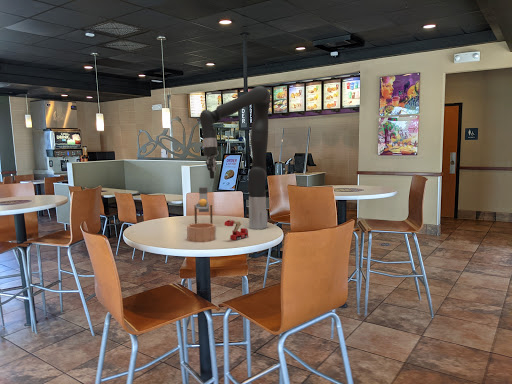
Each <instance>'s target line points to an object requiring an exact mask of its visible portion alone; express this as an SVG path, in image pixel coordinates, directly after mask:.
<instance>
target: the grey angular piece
mask: <svg viewBox="0 0 512 384" xmlns="http://www.w3.org/2000/svg"><path fill="white" fill-rule="evenodd" d="M198 188H199V189H198V193H199V194H198V195H199V198H198V199H199V201H200V200H201V199H205V200H206V201H207V205H206V206H204V207H202V206H200V205H199V201H198V203H195V204H194V205H195V208H197V210H198V212H199V213H210V203H209V201H208V187H207V186H199V187H198Z"/></svg>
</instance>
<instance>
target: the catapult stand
mask: <svg viewBox="0 0 512 384" xmlns="http://www.w3.org/2000/svg"><path fill="white" fill-rule="evenodd" d="M193 208H194V224H196V223H198V215H197V214H198V213H197V212H198V211H197V210H198V209H197V208H195V204H194V207H193ZM209 215H210V216H209V217H210V219H209V220H210V222H209V223H210V224H214V223H213V204H209Z"/></svg>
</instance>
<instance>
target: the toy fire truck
mask: <svg viewBox="0 0 512 384" xmlns="http://www.w3.org/2000/svg"><path fill="white" fill-rule="evenodd" d="M241 225H242V223H241V222H240V221H236V220H231V219H227V220H225V221H224V226H226V227H233V226H234V229H233V230H232V234H230V235H229V237H230V238H229V239H230V240H233V241H238V240H241V239H244V238H245V239H247V238H249V230H248V228H245V227H241ZM239 229H240V231H239Z"/></svg>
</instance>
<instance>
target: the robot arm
mask: <svg viewBox="0 0 512 384" xmlns="http://www.w3.org/2000/svg"><path fill="white" fill-rule="evenodd" d="M270 104H271V92H270V91H269V90H268V88H266V87H265V86H262V85H258V86H255V87H253V88H252V89H250V90H249V91H247V92H246V93H244V94H242V95H241V96H238V97H236V98H234V99H232V100H230V101H226V102H225V103H223V104H220V105H218V106H216V108H215V109H214V110H212V111H211V110H209V109H203V110H201V112H200V115H199V121H200V126H201V130H202V137H203V139H202V141H203V142H202V146H203V156H204V157H206V160H205V164H206V169H207V171H208V172H209V179H215V178H216V176H215V171H216V170H217V164H218V163H217V161H216V156H218V155H219V153H218V141H217V133H216V129H215V127H214V124H216V123H218V122H220V121H221V120H223V119H225V118H227V117H229V116H231V115H232V116H233V115H234V114H236V113H238V112H240V111H241V110H242V109H244V108H246V107H249V106H253V105H254V110H255V111H254V117H253V122H252V125H251V129H250V147H251V154H252V156H251V157H252V162H251V168H250V169H249V171H248V174H247V190H248V228H249V229H252V230H264V229H266V228H267V229H268V210H267V191H266V179H267V175H268V174H267V151H268V142H269V112H270V111H269V110H270Z"/></svg>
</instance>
